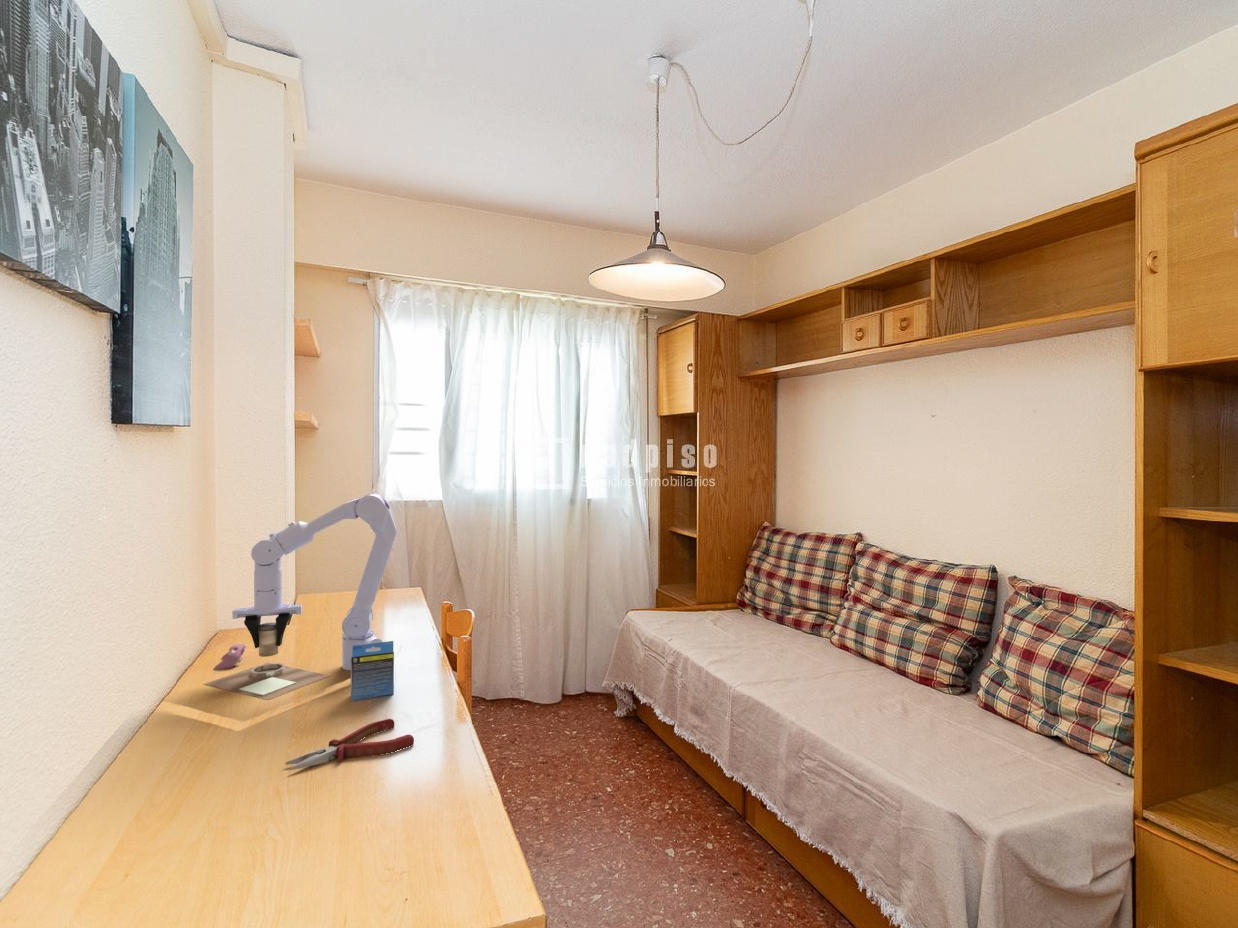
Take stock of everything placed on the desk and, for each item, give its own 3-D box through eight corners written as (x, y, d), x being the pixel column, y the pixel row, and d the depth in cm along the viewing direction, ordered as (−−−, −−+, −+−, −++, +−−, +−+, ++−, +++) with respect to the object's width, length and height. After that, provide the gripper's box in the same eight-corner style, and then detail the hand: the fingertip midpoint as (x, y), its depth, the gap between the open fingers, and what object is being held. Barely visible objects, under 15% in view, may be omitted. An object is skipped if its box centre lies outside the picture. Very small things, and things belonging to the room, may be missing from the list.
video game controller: (229, 680, 149) (244, 653, 150) (210, 674, 148) (225, 647, 149) (237, 667, 158) (251, 642, 160) (219, 661, 157) (233, 636, 158)
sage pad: (296, 683, 139) (296, 682, 139) (263, 696, 132) (263, 694, 132) (272, 678, 143) (272, 676, 143) (238, 690, 135) (238, 688, 135)
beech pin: (281, 652, 147) (281, 623, 147) (266, 657, 143) (266, 627, 143) (270, 650, 149) (270, 621, 149) (254, 655, 145) (254, 625, 145)
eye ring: (291, 670, 148) (291, 665, 148) (264, 680, 141) (264, 674, 141) (271, 666, 151) (271, 661, 151) (244, 675, 144) (244, 670, 144)
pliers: (279, 760, 108) (279, 746, 108) (392, 727, 121) (392, 714, 121) (296, 787, 99) (296, 771, 99) (416, 748, 113) (416, 734, 113)
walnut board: (331, 681, 145) (331, 675, 145) (268, 706, 130) (268, 699, 130) (267, 668, 154) (267, 662, 154) (202, 690, 139) (202, 684, 139)
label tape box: (392, 689, 140) (392, 635, 140) (394, 695, 137) (394, 640, 137) (350, 695, 137) (350, 640, 137) (351, 701, 133) (351, 645, 133)
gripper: (305, 583, 152) (305, 638, 152) (238, 587, 148) (238, 643, 148) (299, 589, 145) (299, 646, 145) (229, 593, 141) (229, 652, 141)
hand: (268, 645), depth 146 cm, fingers closed on beech pin, 4 cm apart
